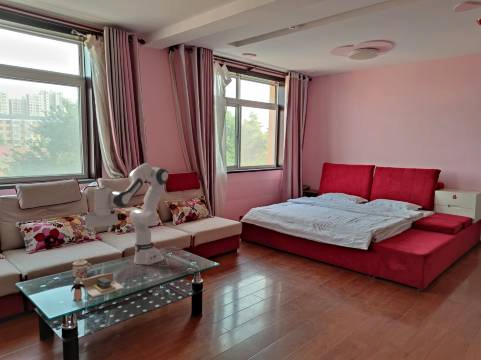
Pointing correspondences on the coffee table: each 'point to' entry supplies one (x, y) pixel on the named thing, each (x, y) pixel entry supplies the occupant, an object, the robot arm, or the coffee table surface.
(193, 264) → the coffee table surface
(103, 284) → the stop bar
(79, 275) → the teacup with lid
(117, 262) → the coffee table surface
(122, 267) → the coffee table surface
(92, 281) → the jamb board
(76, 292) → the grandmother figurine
